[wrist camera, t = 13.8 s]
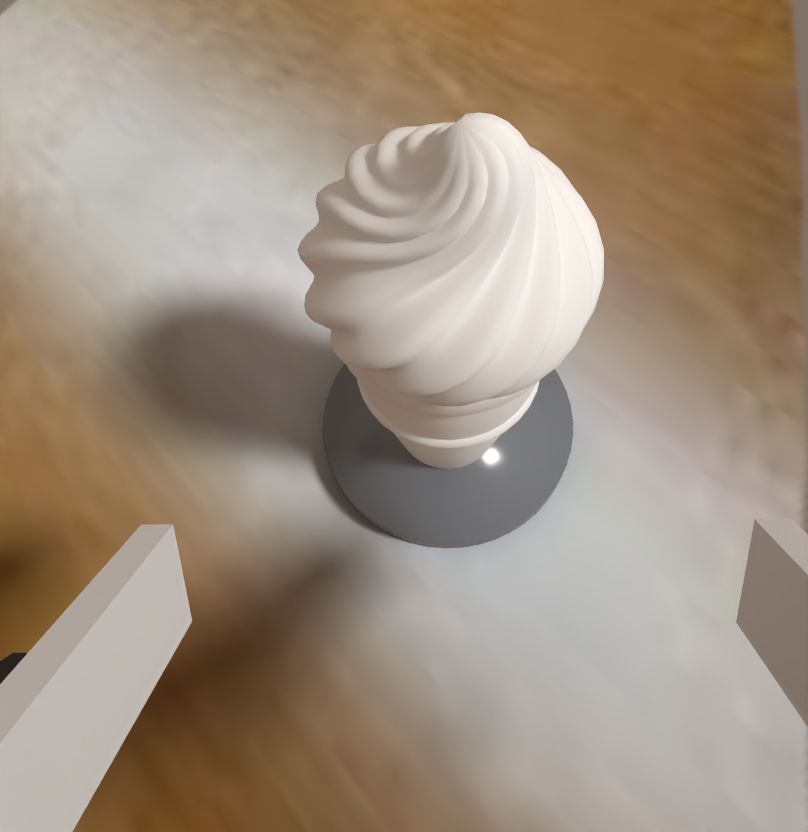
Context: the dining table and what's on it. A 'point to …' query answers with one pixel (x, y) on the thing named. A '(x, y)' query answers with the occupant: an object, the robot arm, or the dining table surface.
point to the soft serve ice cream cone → (452, 280)
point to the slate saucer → (447, 470)
